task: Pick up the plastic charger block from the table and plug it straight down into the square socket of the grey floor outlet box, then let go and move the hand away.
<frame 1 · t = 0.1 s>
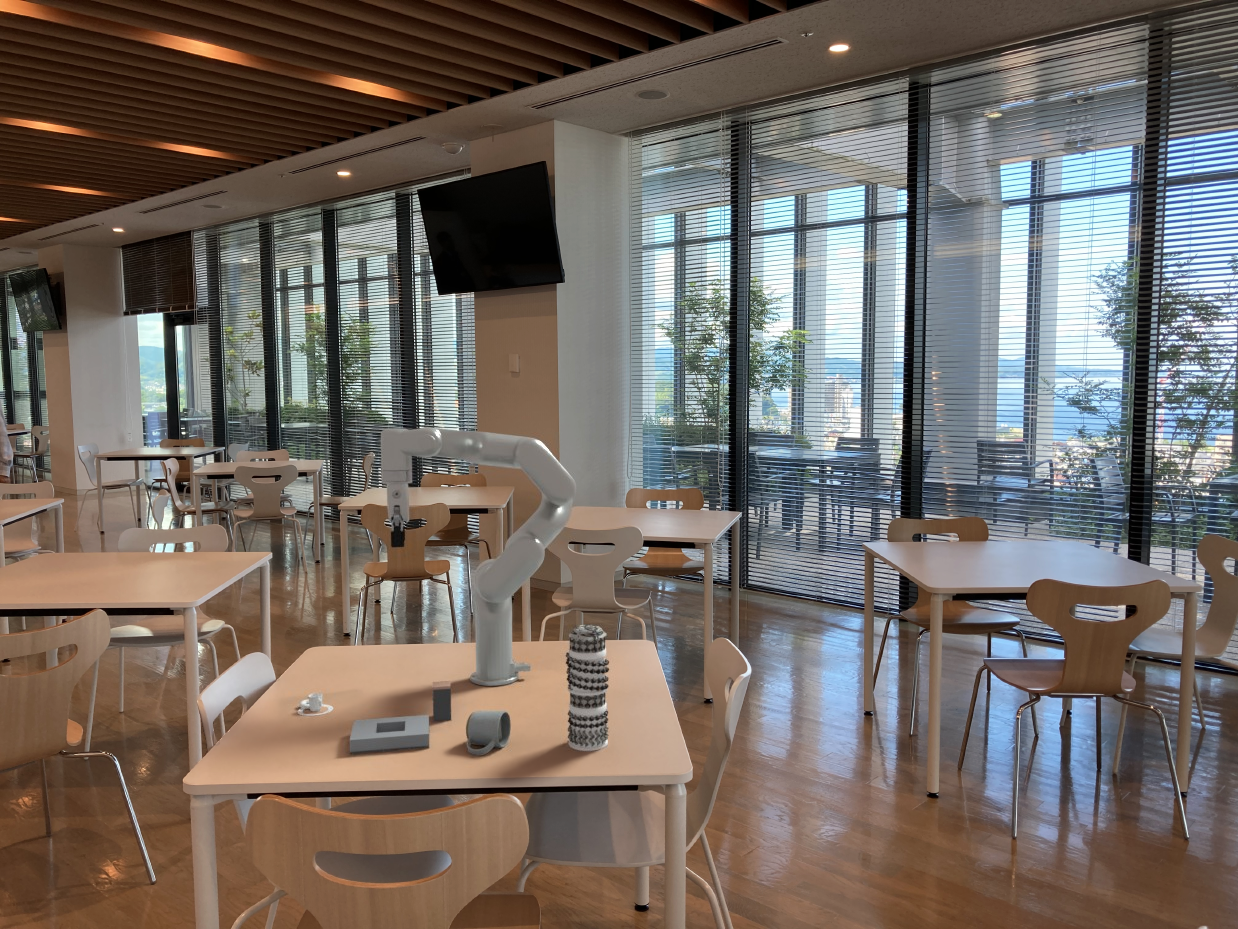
hand: (398, 544, 229), 37 cm above the table, tool pointing down, fingers open, 9 cm apart
decorative candle: (588, 744, 191), on the table
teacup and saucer: (322, 708, 216), on the table
ceramic mug: (487, 748, 189), on the table
charger: (442, 718, 207), on the table
outlet box: (391, 740, 193), on the table
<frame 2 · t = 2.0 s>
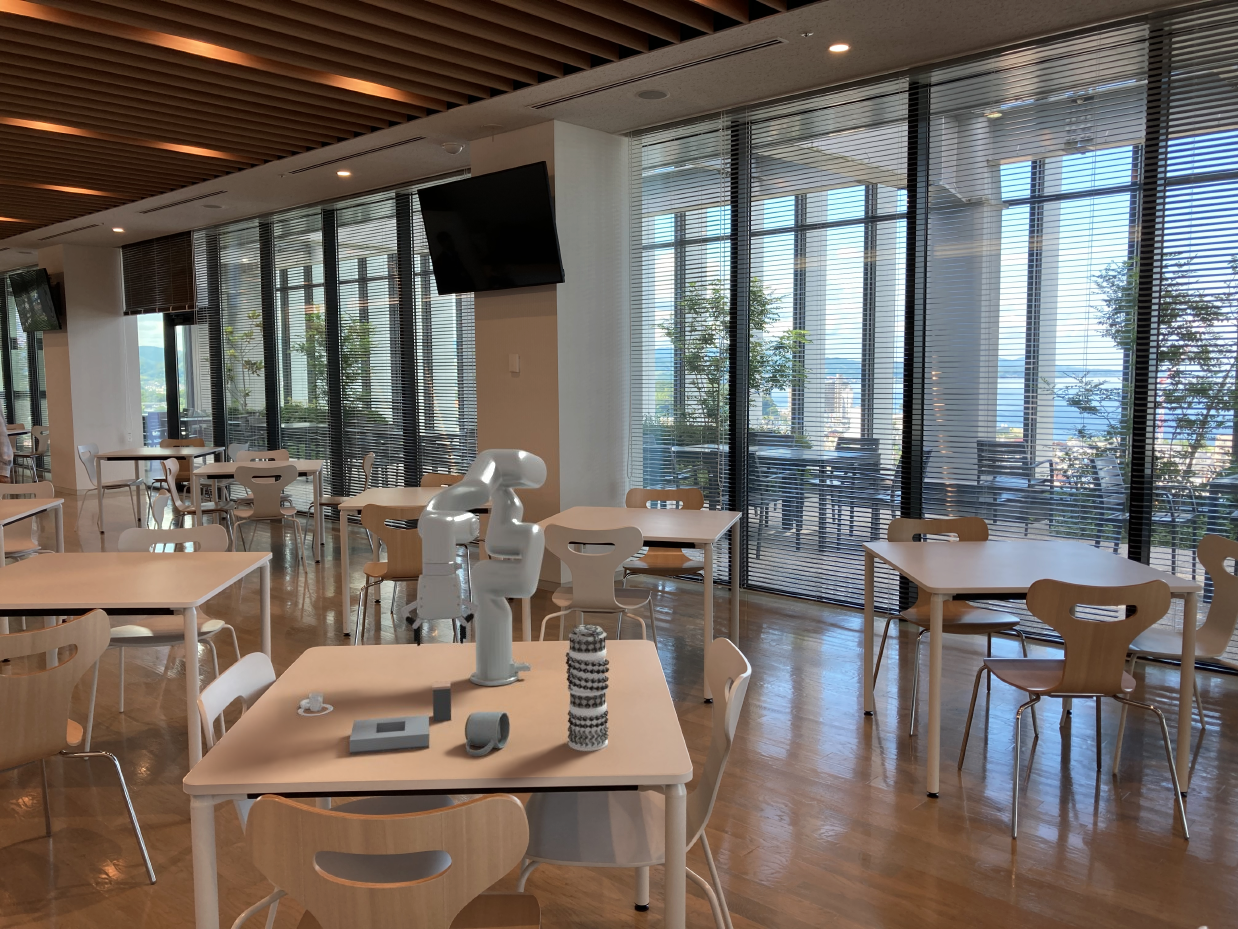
hand: (440, 643, 205), 17 cm above the table, tool pointing down, fingers open, 9 cm apart
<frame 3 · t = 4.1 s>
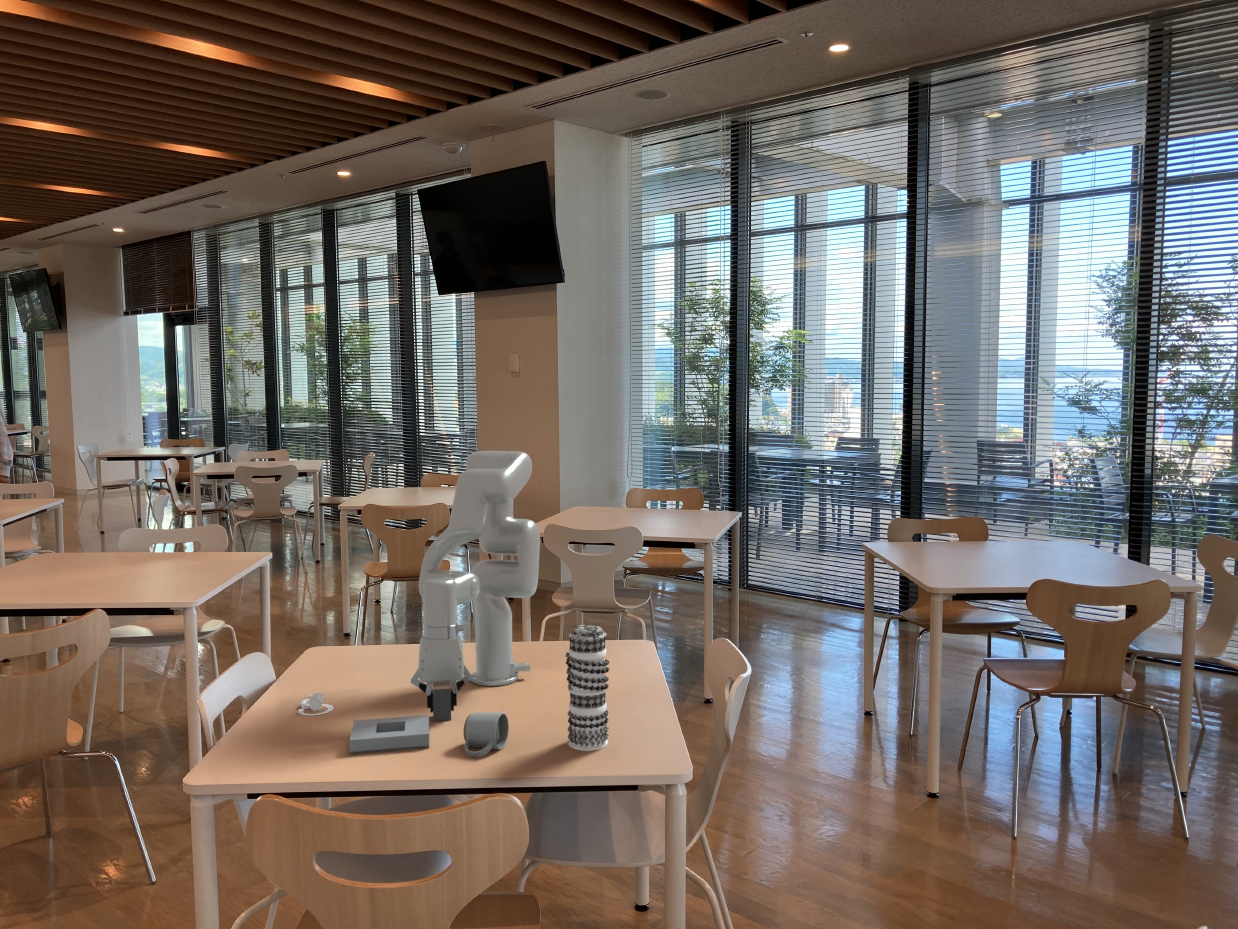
hand: (442, 709, 207), 2 cm above the table, tool pointing down, fingers closed on charger, 4 cm apart
charger: (442, 717, 207), on the table, touching gripper
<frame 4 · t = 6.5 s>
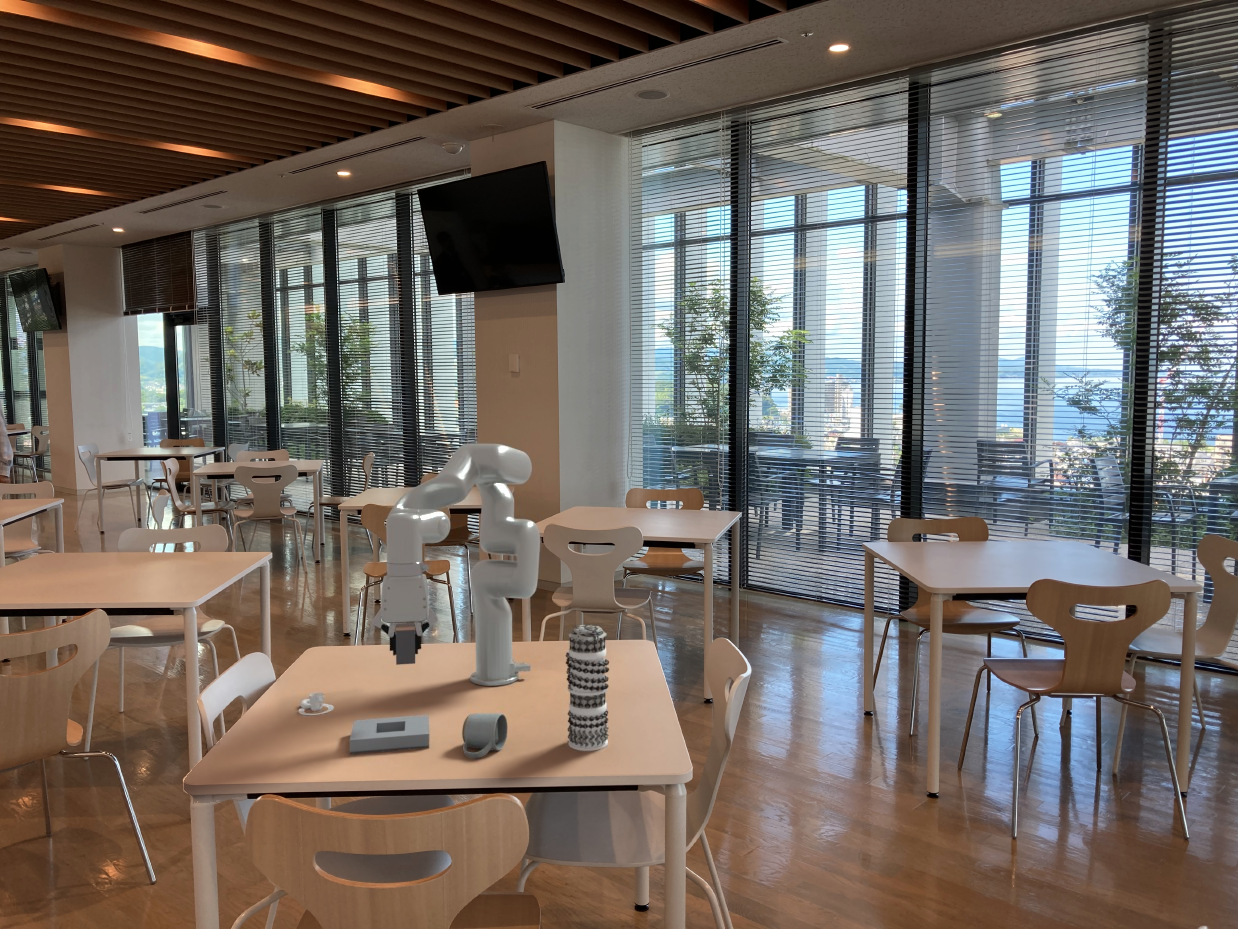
hand: (405, 652, 196), 18 cm above the table, tool pointing down, fingers closed on charger, 4 cm apart
charger: (405, 661, 196), point 16 cm above the table, touching gripper
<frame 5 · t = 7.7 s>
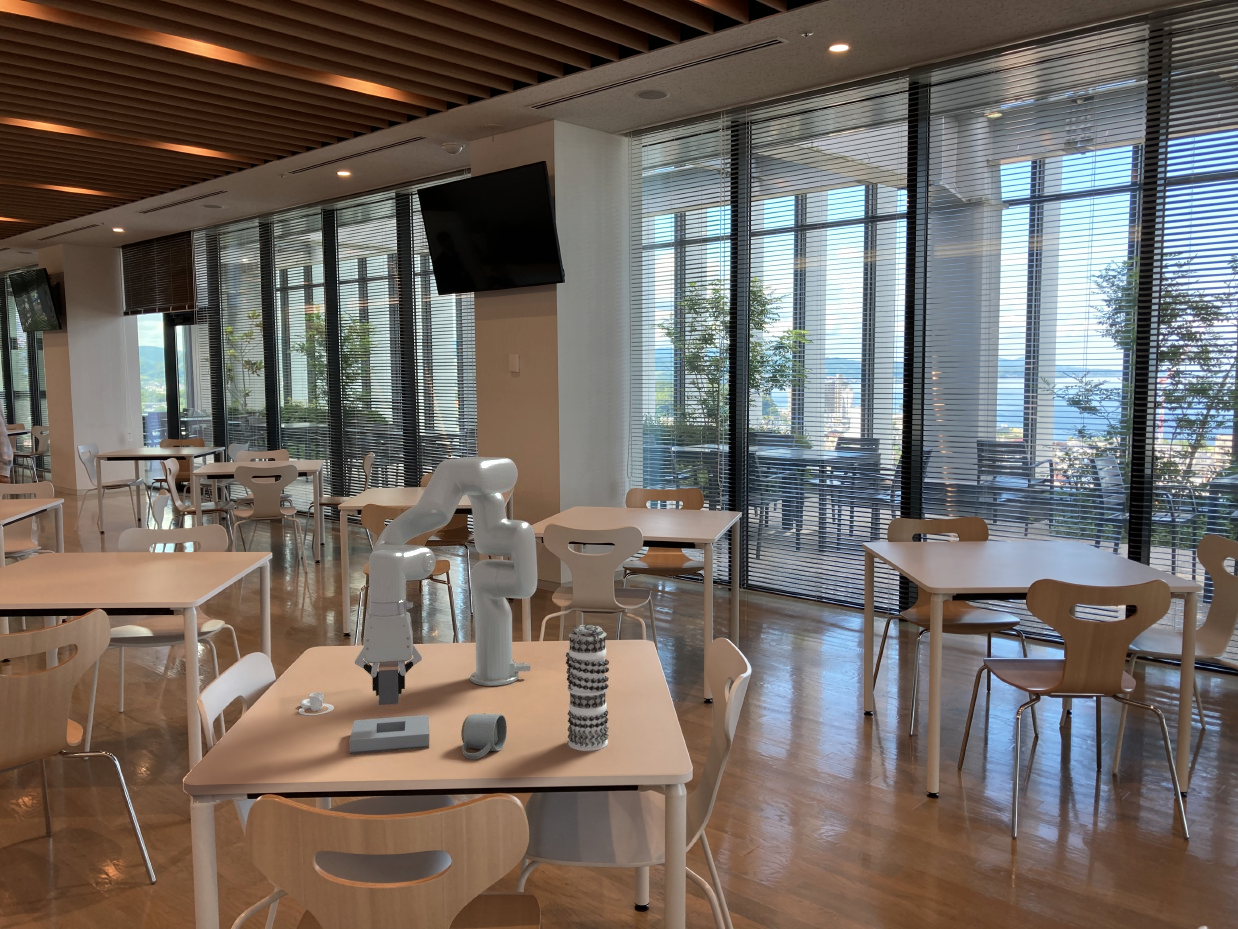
hand: (388, 692, 192), 11 cm above the table, tool pointing down, fingers closed on charger, 4 cm apart
charger: (389, 701, 192), point 9 cm above the table, touching gripper
when the fingers open (4 cm above the table, at t = 9.0 s): charger drops 2 cm, resting on outlet box.
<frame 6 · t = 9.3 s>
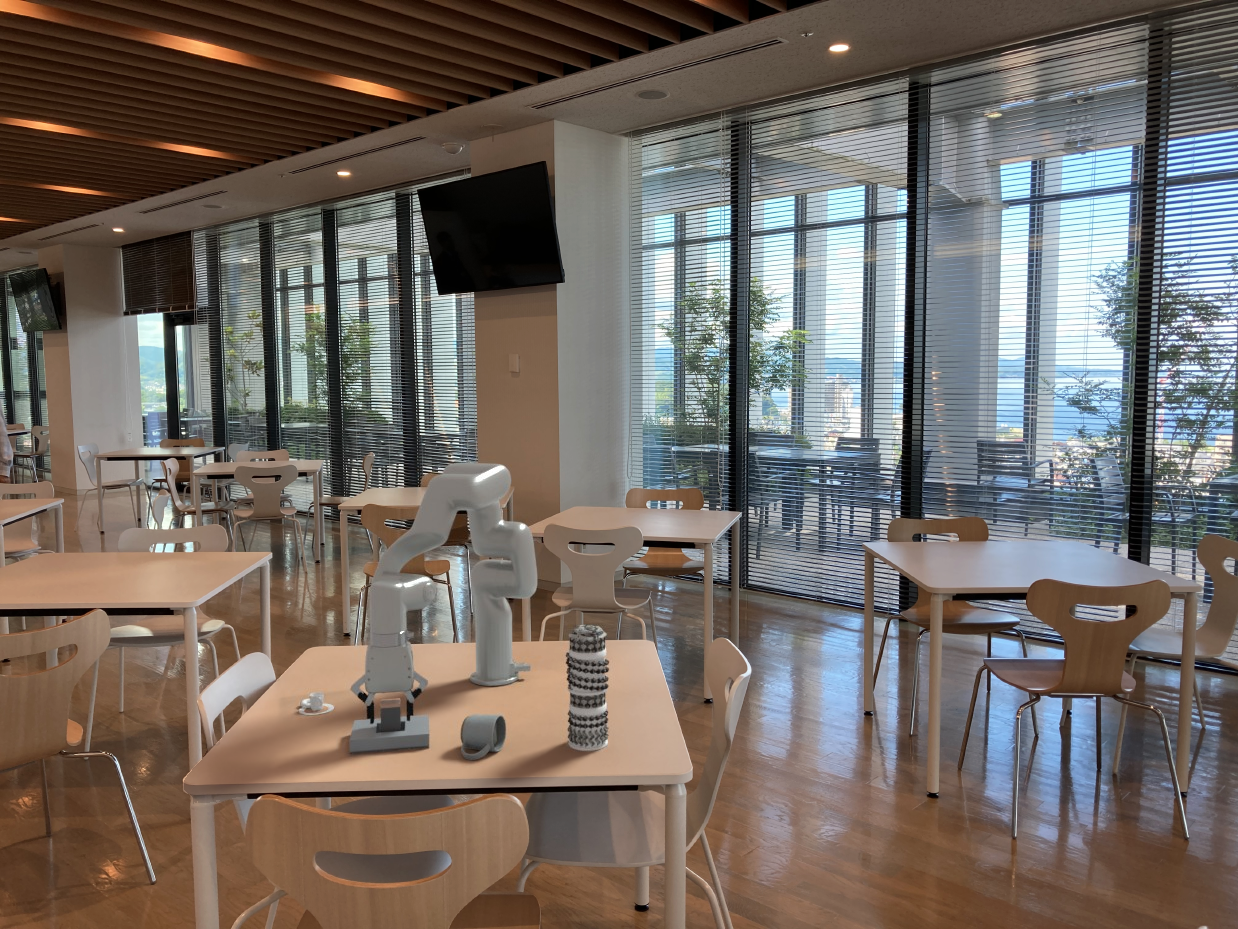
hand: (390, 719, 193), 5 cm above the table, tool pointing down, fingers open, 7 cm apart
charger: (391, 738, 193), resting on outlet box
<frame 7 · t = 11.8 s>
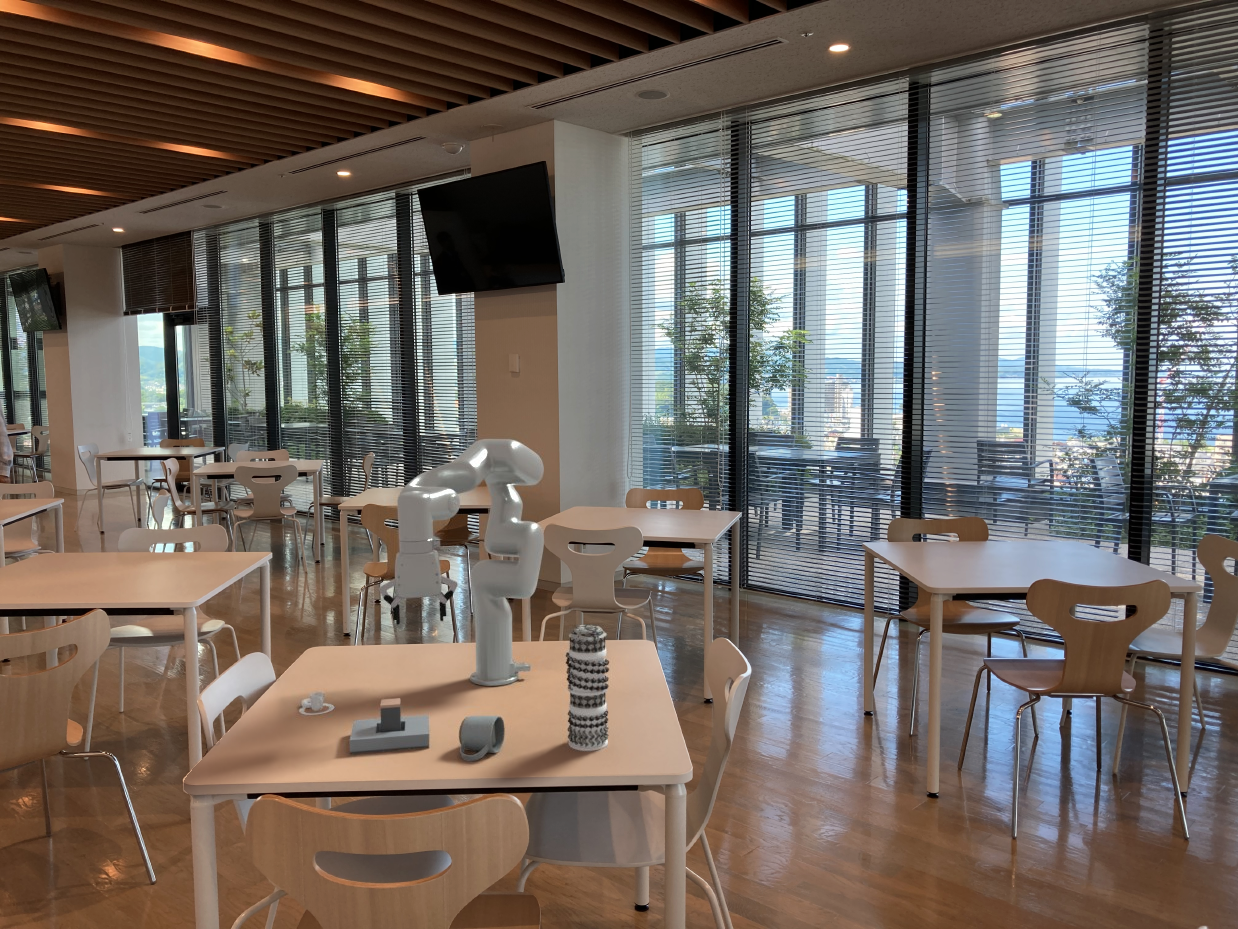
hand: (420, 621, 203), 23 cm above the table, tool pointing down, fingers open, 9 cm apart
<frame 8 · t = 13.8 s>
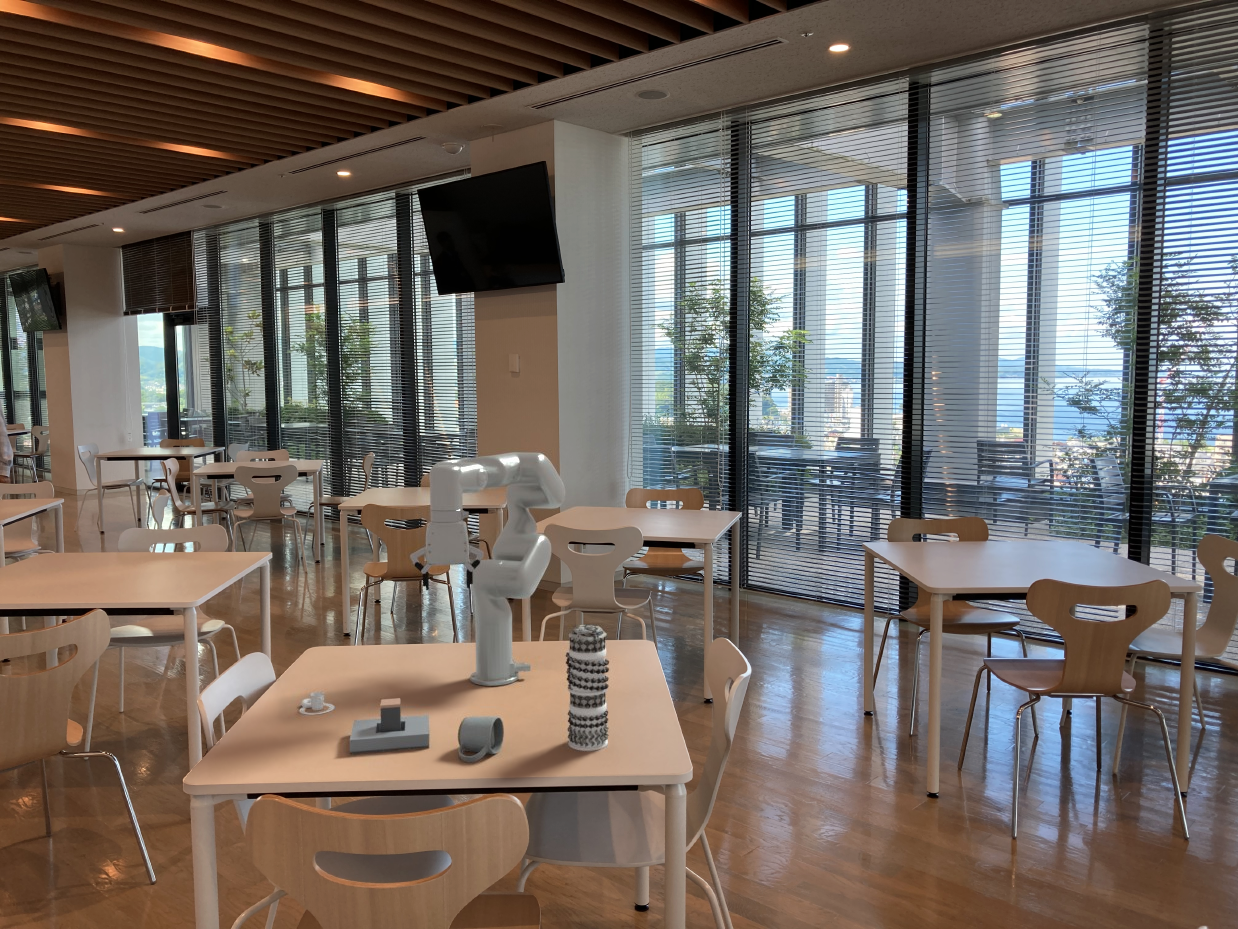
hand: (447, 588, 214), 28 cm above the table, tool pointing down, fingers open, 9 cm apart
at the end: charger 0.1 cm off-centre on the outlet box, point 0.5 cm above the outlet box's base; charger tilted 0°; the gripper is holding nothing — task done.
